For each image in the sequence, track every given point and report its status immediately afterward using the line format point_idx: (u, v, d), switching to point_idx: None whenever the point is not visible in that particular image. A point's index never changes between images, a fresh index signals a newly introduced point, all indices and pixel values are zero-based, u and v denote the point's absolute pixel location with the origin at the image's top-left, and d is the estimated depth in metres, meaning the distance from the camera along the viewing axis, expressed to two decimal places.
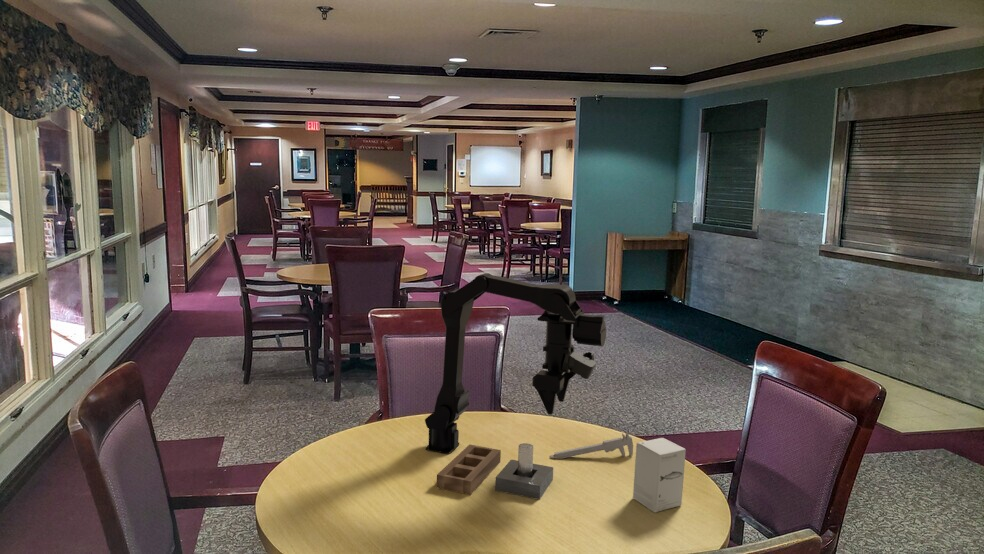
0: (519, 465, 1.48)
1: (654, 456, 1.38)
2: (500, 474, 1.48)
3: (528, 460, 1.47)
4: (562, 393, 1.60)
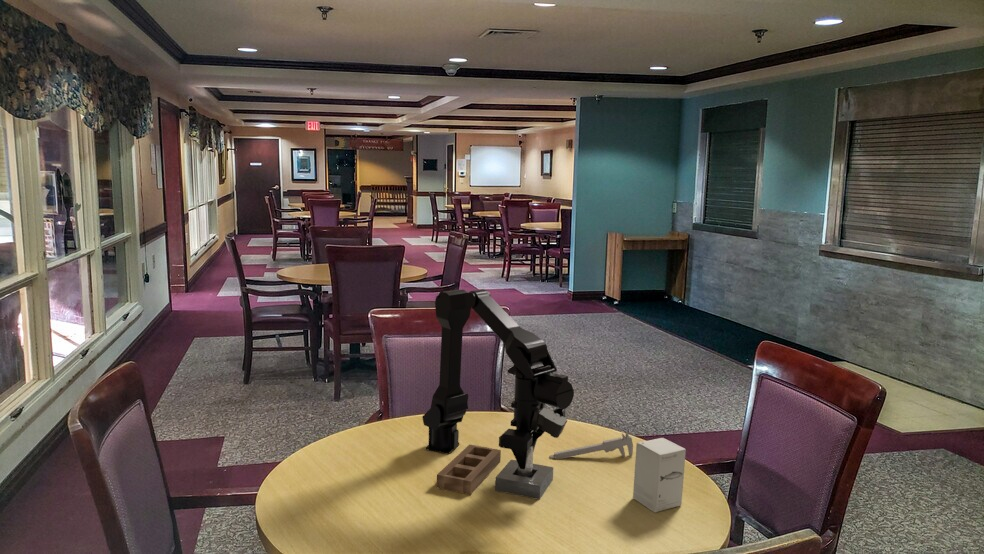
0: None
1: (654, 456, 1.38)
2: (500, 474, 1.48)
3: (528, 460, 1.47)
4: None
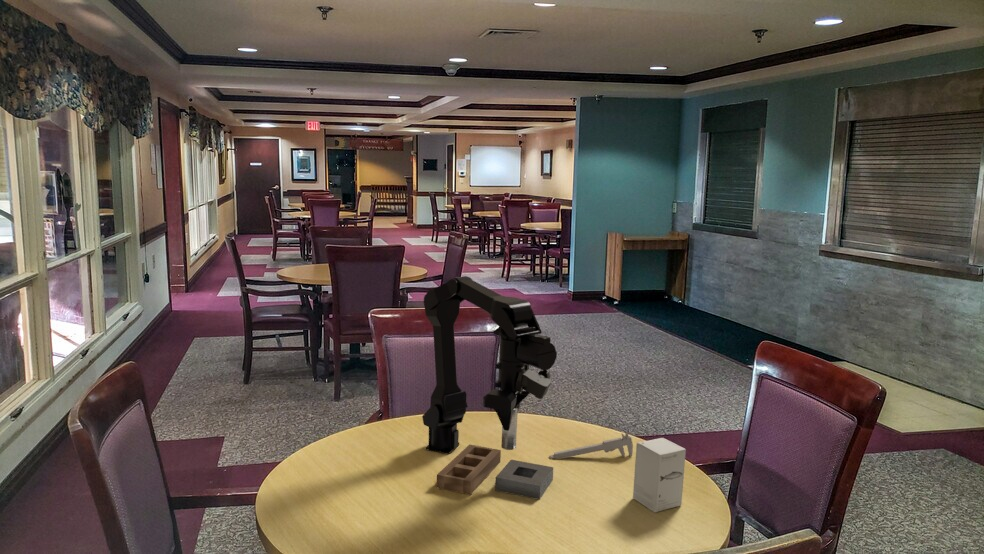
0: None
1: (654, 456, 1.38)
2: (500, 474, 1.48)
3: (512, 421, 1.48)
4: None
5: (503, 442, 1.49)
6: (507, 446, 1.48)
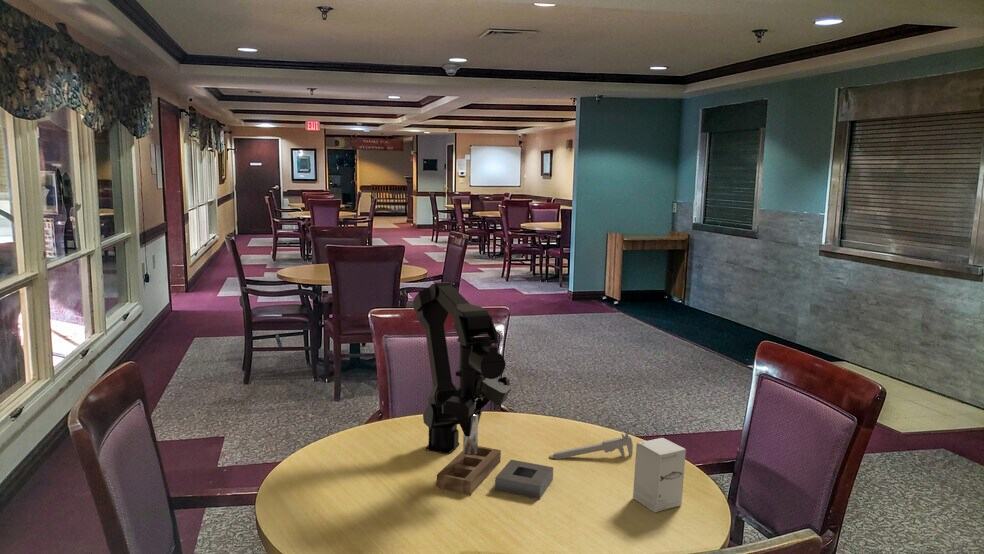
0: None
1: (654, 456, 1.38)
2: (500, 474, 1.48)
3: (472, 427, 1.51)
4: None
5: (464, 448, 1.52)
6: (468, 452, 1.52)
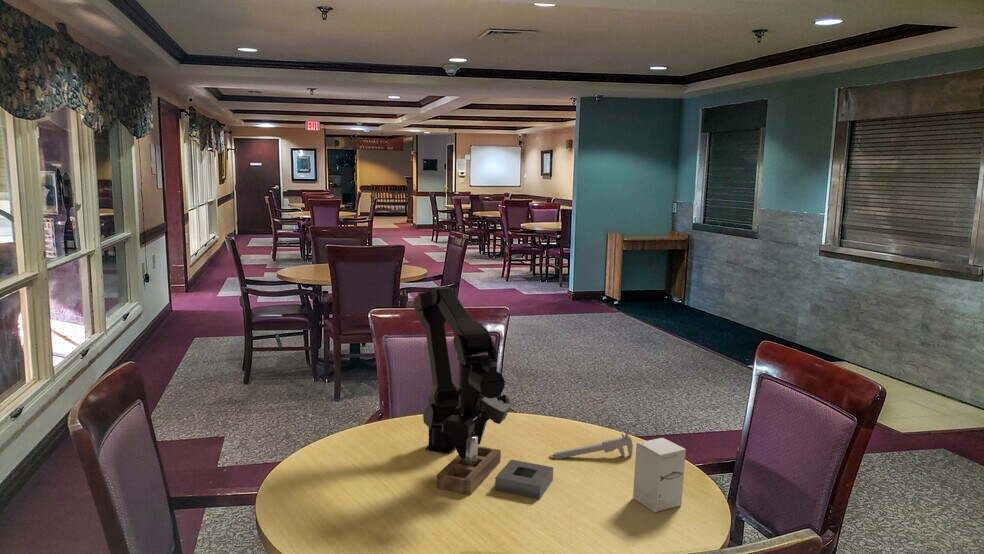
0: None
1: (654, 456, 1.38)
2: (500, 474, 1.48)
3: (472, 450, 1.52)
4: (478, 436, 1.57)
5: None
6: None
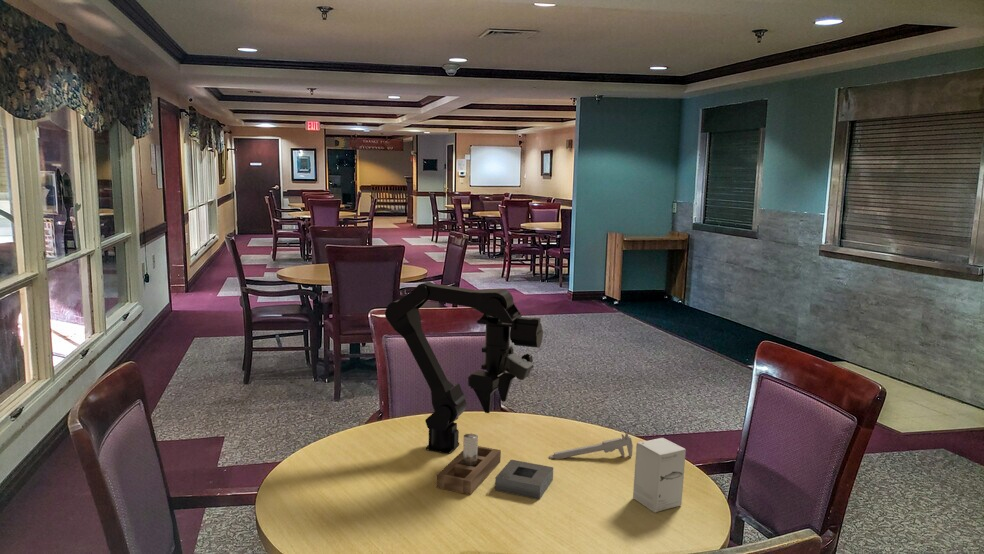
0: (464, 455, 1.53)
1: (654, 456, 1.38)
2: (500, 474, 1.48)
3: (472, 450, 1.52)
4: (504, 393, 1.66)
5: None
6: None
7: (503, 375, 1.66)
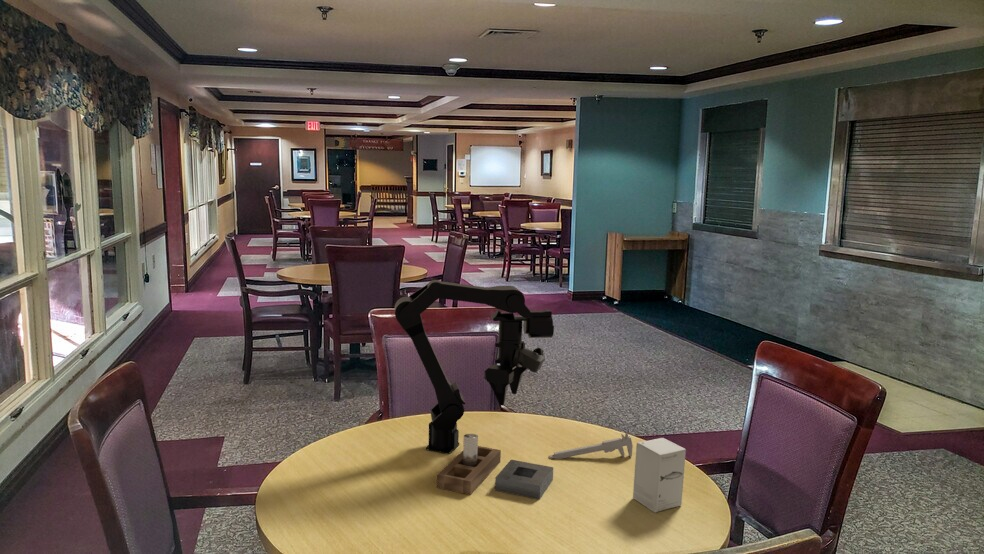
0: (464, 455, 1.53)
1: (654, 456, 1.38)
2: (500, 474, 1.48)
3: (472, 450, 1.52)
4: (515, 386, 1.73)
5: None
6: None
7: (514, 369, 1.73)
